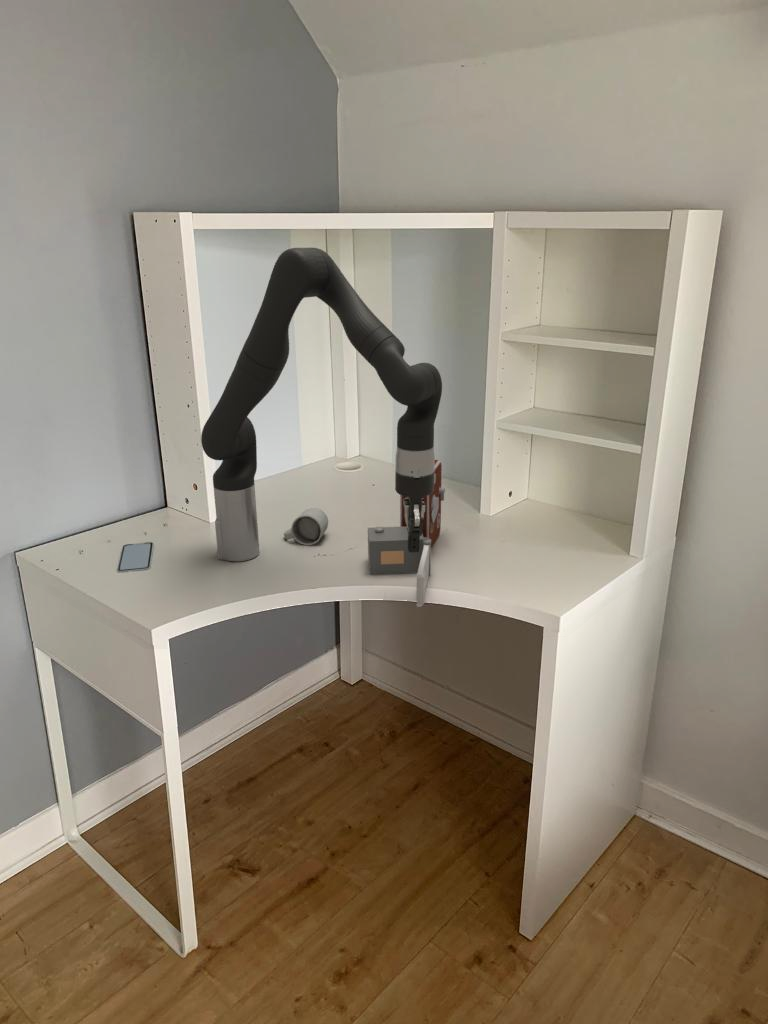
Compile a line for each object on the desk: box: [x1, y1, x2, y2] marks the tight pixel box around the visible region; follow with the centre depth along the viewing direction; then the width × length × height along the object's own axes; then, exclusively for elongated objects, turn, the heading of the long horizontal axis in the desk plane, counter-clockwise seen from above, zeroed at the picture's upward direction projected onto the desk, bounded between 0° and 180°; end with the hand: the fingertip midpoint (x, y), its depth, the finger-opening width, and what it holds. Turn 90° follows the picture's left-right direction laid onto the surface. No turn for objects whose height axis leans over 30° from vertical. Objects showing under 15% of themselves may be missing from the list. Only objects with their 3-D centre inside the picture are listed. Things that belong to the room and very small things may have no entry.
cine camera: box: [399, 459, 446, 550], centre depth 190 cm, size 9×19×20 cm, turn 164°
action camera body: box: [367, 526, 431, 576], centre depth 177 cm, size 14×10×9 cm
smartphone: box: [116, 541, 155, 573], centre depth 185 cm, size 7×1×15 cm
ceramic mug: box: [283, 507, 329, 546], centre depth 193 cm, size 11×8×8 cm
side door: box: [416, 544, 432, 608], centre depth 166 cm, size 17×2×7 cm, turn 172°
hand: (413, 550), depth 159 cm, fingers closed
